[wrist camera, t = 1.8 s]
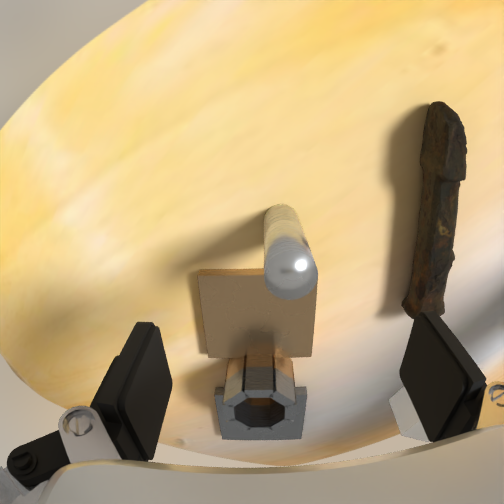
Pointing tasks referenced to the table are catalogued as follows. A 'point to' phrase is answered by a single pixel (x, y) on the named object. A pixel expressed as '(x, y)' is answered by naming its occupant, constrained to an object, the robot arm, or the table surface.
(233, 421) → the hinge
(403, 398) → the light grey cube
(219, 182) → the table surface
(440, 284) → the hand tool
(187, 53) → the table surface
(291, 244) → the hinge pin
